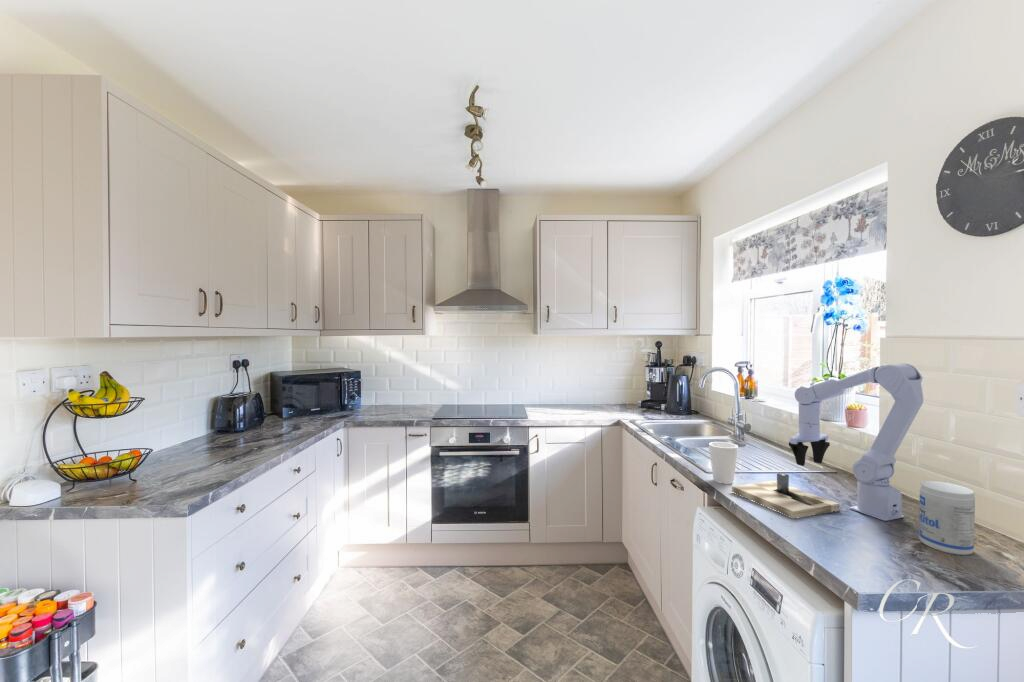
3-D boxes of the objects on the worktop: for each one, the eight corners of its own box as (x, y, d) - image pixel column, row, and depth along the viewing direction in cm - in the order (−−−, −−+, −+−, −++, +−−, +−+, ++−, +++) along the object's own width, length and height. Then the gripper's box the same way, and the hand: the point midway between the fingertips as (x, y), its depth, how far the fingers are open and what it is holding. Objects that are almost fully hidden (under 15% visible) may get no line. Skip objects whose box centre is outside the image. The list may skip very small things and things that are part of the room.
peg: (796, 499, 137) (796, 476, 137) (784, 502, 135) (784, 478, 135) (781, 494, 142) (780, 471, 142) (769, 496, 140) (769, 473, 140)
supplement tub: (908, 538, 110) (908, 480, 110) (942, 536, 111) (942, 479, 111) (950, 557, 101) (950, 494, 101) (986, 555, 102) (986, 492, 102)
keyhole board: (839, 510, 128) (839, 503, 128) (793, 518, 123) (793, 511, 123) (773, 486, 149) (773, 480, 149) (732, 492, 144) (732, 486, 144)
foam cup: (735, 487, 149) (735, 449, 148) (706, 482, 154) (706, 445, 154) (740, 480, 156) (740, 444, 156) (712, 475, 162) (712, 440, 162)
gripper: (813, 419, 149) (813, 458, 149) (781, 421, 145) (781, 462, 145) (834, 422, 143) (834, 464, 143) (801, 426, 138) (801, 468, 138)
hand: (809, 463), depth 143 cm, fingers open, 7 cm apart
